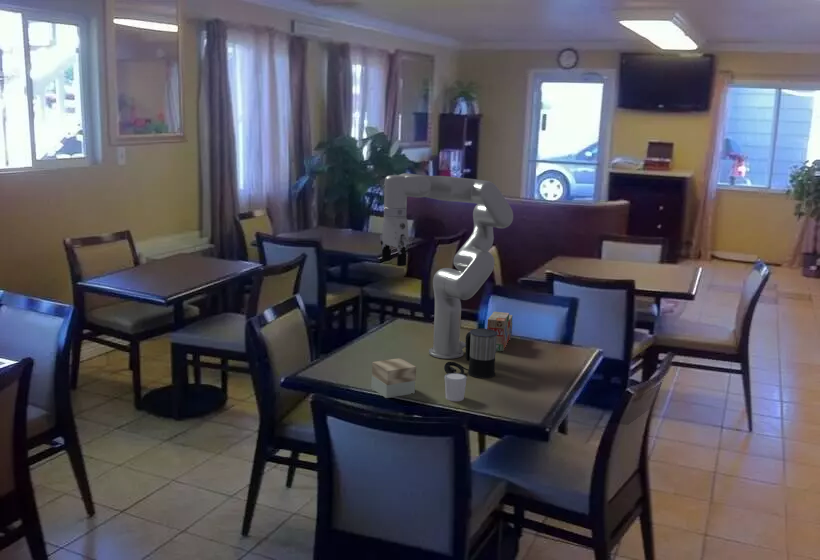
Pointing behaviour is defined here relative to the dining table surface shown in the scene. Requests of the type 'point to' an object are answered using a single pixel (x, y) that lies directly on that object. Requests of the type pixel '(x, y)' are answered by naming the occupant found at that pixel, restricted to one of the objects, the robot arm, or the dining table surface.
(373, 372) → the tower top
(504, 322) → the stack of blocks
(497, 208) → the robot arm
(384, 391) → the tower bottom
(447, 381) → the white cylinder
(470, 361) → the milk frother
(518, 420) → the dining table surface
